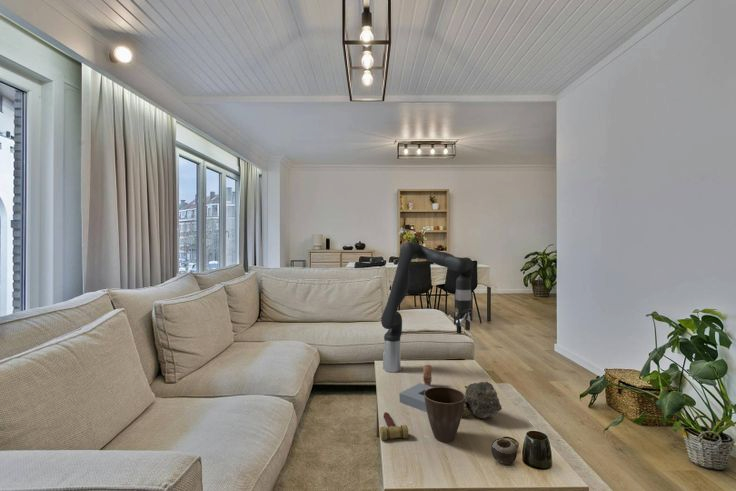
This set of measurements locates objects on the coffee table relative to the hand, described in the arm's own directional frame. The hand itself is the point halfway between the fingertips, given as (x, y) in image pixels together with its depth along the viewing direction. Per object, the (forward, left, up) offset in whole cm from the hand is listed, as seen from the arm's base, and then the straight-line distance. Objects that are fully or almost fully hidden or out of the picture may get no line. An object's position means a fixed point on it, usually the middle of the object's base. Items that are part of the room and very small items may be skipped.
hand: (463, 331), depth 177 cm
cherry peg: (-17, -6, -29) cm, 34 cm away
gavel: (-5, -50, -30) cm, 59 cm away
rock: (+15, -19, -29) cm, 38 cm away
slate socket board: (-7, -22, -29) cm, 37 cm away
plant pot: (+15, -42, -29) cm, 54 cm away
